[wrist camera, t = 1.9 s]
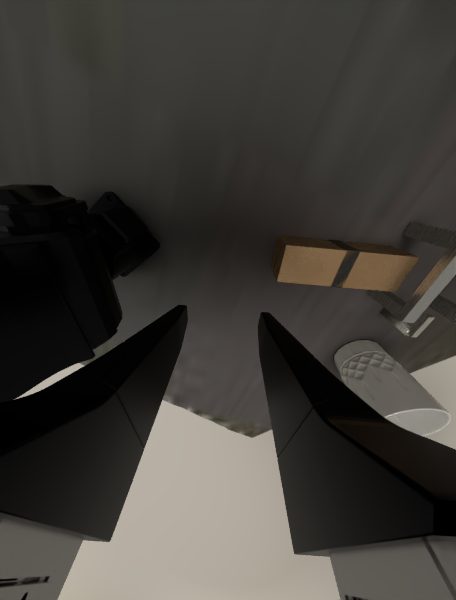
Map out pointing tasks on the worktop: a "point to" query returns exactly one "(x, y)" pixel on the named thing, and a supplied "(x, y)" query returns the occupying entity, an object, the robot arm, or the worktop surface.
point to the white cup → (389, 388)
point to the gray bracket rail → (423, 285)
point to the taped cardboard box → (340, 264)
